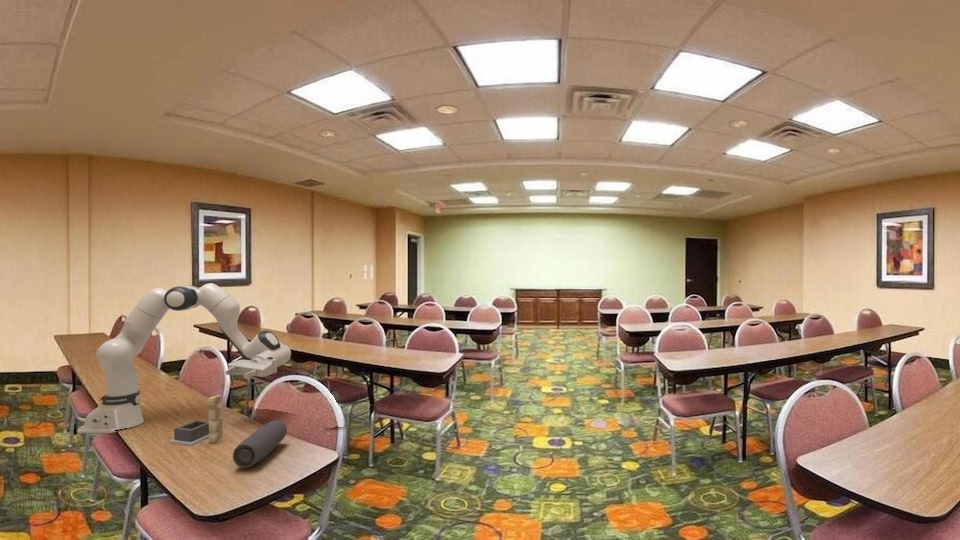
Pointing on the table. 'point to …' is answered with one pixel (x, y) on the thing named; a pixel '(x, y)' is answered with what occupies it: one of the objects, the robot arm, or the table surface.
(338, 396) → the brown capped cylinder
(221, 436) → the slat
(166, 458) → the table surface
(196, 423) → the grey hollow box
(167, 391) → the table surface
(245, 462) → the bluetooth speaker
